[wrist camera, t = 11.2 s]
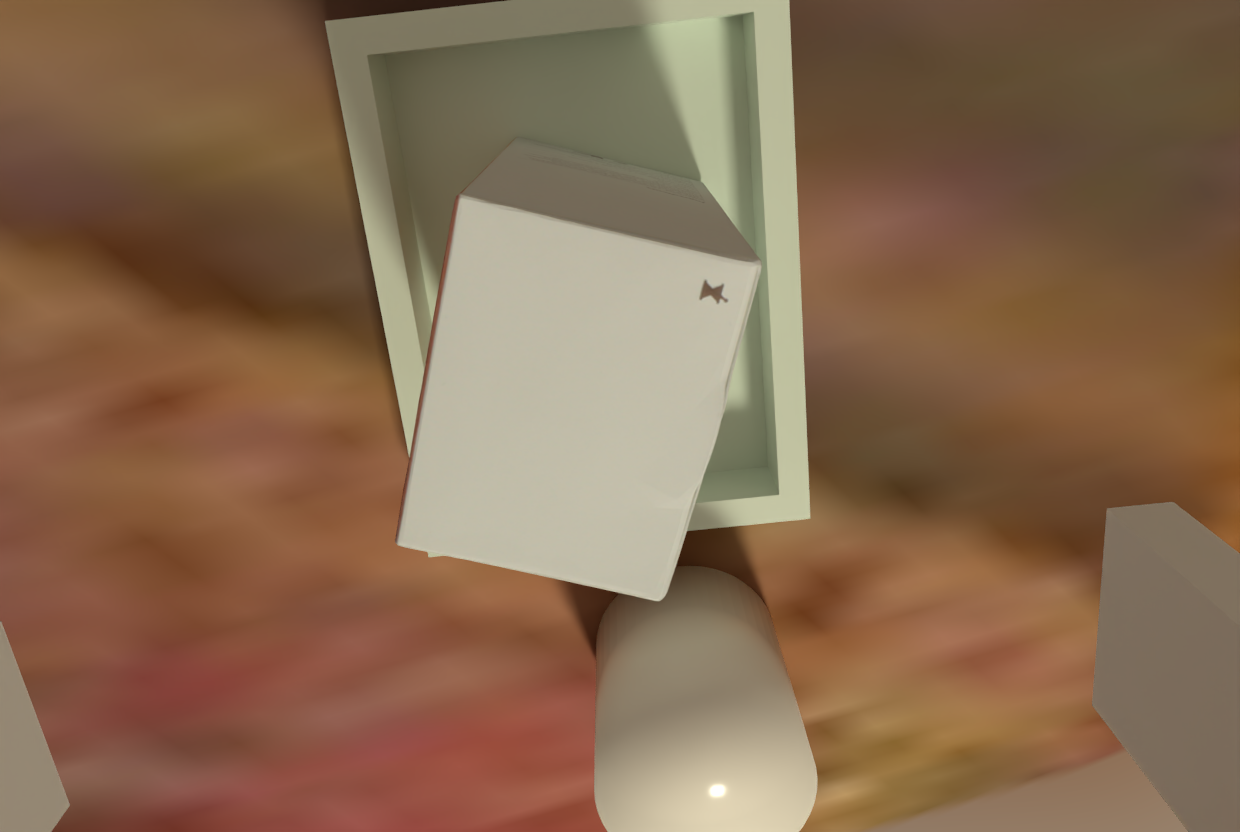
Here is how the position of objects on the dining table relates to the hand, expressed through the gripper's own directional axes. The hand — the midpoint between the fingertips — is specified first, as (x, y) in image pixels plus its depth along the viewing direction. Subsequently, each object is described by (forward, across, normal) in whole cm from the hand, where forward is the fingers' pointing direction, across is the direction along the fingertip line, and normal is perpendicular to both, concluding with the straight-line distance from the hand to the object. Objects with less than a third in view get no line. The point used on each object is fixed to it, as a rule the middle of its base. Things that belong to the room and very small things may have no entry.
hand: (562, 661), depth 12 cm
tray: (+23, 0, 0) cm, 23 cm away
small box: (+22, 0, 0) cm, 22 cm away
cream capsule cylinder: (+23, +2, -15) cm, 27 cm away
